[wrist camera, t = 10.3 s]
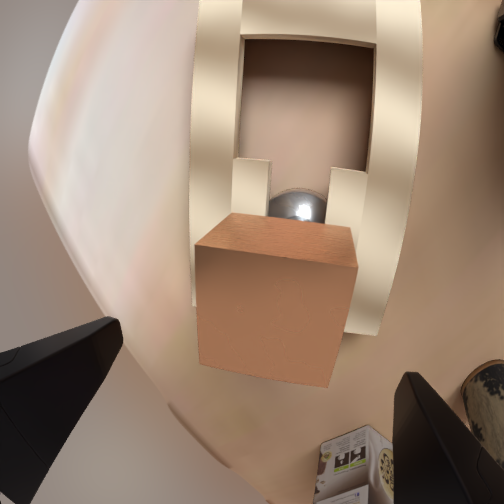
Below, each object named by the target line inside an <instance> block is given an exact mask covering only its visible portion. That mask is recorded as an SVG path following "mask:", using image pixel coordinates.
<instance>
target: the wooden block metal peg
mask: <svg viewBox="0 0 504 504" xmlns="http://www.w3.org/2000/svg"><path fill="white" fill-rule="evenodd" d="M326 208H327V199H326V198H325V197H324V196H322V195H321V194H319V193H317V192H315V191H312V190H309V189H304V188H292V189H287V190H285V191H282V192H280V193H278V194H277V195H275V196H274V197H273V198H272V199H271V200H270V201H269V212H268V216H259V215H251V214H242V213H233V212H232V213H230V214H229V215H228V216H227V217H226V218H225V219H223V220H222V221H221V222H220V223H219V224H218V225H216V226H215V227H214V228H213V229H212V230H211V231H209V232H208V233H207V234H206V235H205V236H204V237H202V238H201V239H200V240H199V241H198V242H197V243H196V244H194V250H195V286H196V310H197V330H198V347H199V362H200V364H202V365H206V366H210V367H214V368H219V369H223V370H228V371H232V372H237V373H241V374H246V375H251V376H256V377H262V378H267V379H272V380H278V381H284V382H290V383H296V384H303V385H310V386H317V387H324V388H328V385H329V382H330V378H331V375H332V372H333V368H334V365H335V361H336V358H337V354H338V351H339V347H340V344H341V340H342V336H343V332H344V329H345V325H346V321H347V317H348V313H349V308H350V304H351V300H352V296H353V291H354V287H355V282H356V278H357V273H358V268H359V267H358V262H357V257H356V252H355V247H354V242H353V238H352V233H351V229H350V227H345V226H337V225H330V224H324V223H325V216H326Z"/></svg>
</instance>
